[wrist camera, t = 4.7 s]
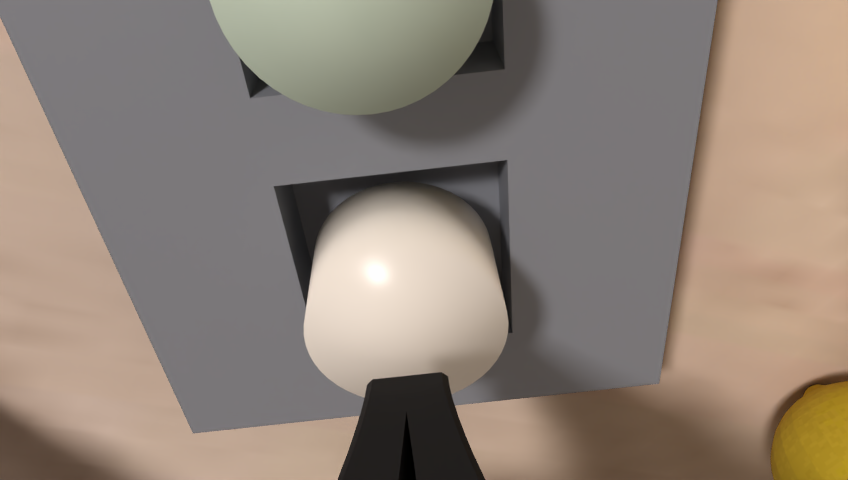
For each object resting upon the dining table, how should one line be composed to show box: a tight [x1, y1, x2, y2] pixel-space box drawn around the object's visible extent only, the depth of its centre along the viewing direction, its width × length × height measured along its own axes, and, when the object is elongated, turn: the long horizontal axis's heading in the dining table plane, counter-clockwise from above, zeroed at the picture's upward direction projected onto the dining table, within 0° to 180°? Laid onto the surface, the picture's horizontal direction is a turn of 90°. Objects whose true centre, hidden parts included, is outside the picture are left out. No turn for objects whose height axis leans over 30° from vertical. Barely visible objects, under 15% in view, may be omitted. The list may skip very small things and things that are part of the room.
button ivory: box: [304, 182, 508, 398], centre depth 15 cm, size 4×4×3 cm
